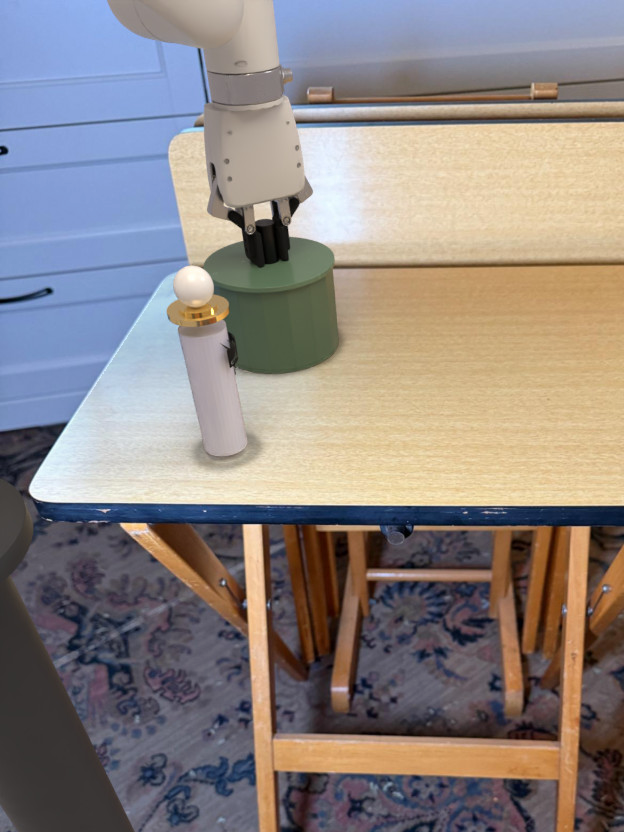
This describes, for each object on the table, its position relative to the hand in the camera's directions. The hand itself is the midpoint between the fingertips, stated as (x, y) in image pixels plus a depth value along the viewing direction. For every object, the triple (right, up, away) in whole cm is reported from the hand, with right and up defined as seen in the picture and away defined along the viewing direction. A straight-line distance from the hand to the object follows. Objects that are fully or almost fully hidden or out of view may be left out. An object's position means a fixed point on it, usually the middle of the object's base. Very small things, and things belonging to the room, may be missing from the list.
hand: (269, 259), depth 95 cm
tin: (0, -8, +8) cm, 11 cm away
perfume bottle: (-3, -24, -10) cm, 26 cm away
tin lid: (0, -1, +1) cm, 1 cm away
